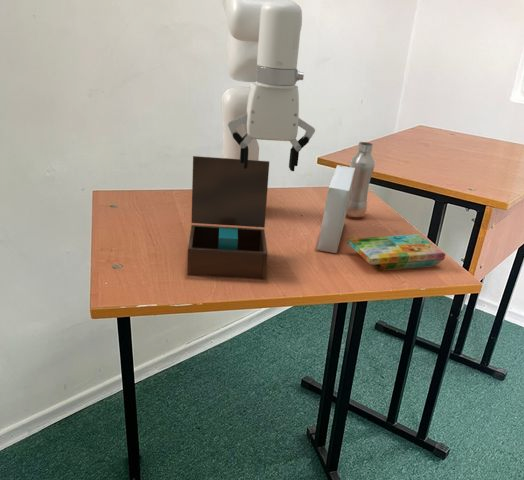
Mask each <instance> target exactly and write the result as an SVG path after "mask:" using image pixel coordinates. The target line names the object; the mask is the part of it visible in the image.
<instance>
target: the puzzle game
mask: <svg viewBox="0 0 524 480" xmlns="http://www.w3.org/2000/svg"><path fill="white" fill-rule="evenodd" d="M346 243H347V245H349V246H350V248H352V249H353V250H354V251H355V252H356V253H357V254H358V255H360V257H361V258H363V259H364V260H365V261H366V262H367V263H368V264H369V265H371V266H375V267H376V268H377V269H378V270H379V271H392V270H405V269H407V270H408V269H417V268H418V269H420V268H431V267H433V268H434V267H436V266H437V265H439V264H440V263H442V262H443V261H444V260H445V258H446V255H447V254H446V253H445V252H444V251H442V250H441V249H439V248H438V247H437V246H435V245H434V244H433V243H431V242H429V241H428V240H427V239H425V238H424V237H423V236H421V235H420V234H418V233H415V234H401V235H400V234H399V235H397V234H396V235H385V236H371V237H357V238H347V242H346Z"/></svg>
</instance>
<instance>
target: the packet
mask: <svg viewBox="0 0 524 480" xmlns="http://www.w3.org/2000/svg"><path fill="white" fill-rule="evenodd" d="M237 246H238V229H228V228H219V246H218V249H226V250H237Z"/></svg>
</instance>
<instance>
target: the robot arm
mask: <svg viewBox="0 0 524 480" xmlns="http://www.w3.org/2000/svg"><path fill="white" fill-rule="evenodd" d="M221 4H222V6H223V9H224V13H225V17H226V27H227V28H226V64H227V72H228V76H229V77H230V78H231V79H232V80H234V81H236V82H244V83H251V84H250V86H233V87H230V88H228V89H226V90H225V91H224V93H223V94H222V96H221V102H220V103H221V104H220V105H221V117H222V119H221V120H222V134H223V135H222V158H230V159H240V163H243V168H244V169H246V168H247V165H248V160H258V161H259V159H260V157H259V156H260V145H259V142H258V140H259V141H260V140H261V141H263V140H264V141H274V142H275V141H277V142H278V141H279V142H290V144H291V145H292V146H291V148H290V149H289V150H290V151H289V161H288V169H289V170H290V171H291V172H295V167H298V163H299V156H300V151H301V150H302V149H303V148H304V147H305V146H306V145H307V144H308V143H309V142H310V140H311V138H312V137H313V135H314V134H315V132H316V129H315V127H314V126H312V125H311V124H309V123H307V122H306V121H305V120H303V119H302V118H301V117H300V116H299V114H300V96H299V94H300V93H299V86H298V85H297V82H298V81H303V80H304V77H305V76H304V75H305V74H304V72H301V71H299V69H298V59H299V50H300V49H299V48H300V39H301V37H300V36H301V31H302V26H303V24H302V23H303V10H302V7H301V6H300V5H299V4H297V3H296V2H295V1H293V0H221ZM299 128H301V129H303V130H304V131H305V132H304V134H303V136H302V137H301V138H299V139H297V137H298V132H299Z"/></svg>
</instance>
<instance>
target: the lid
mask: <svg viewBox="0 0 524 480" xmlns="http://www.w3.org/2000/svg"><path fill="white" fill-rule="evenodd" d="M269 175H270V161H269V160H259V159H258V160H248V165H247V168H246V169H244V168H243V163H240V159H230V158H223V157H215V156H200V155H199V156H198V155H193V156H192V179H191V181H192V185H191V221H190V223H191V224H198V225H199V224H200V225H202V224H203V225H215V226H231V227H248V228H266V215H267V202H268V201H267V199H268V188H269V187H268V186H269Z"/></svg>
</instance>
